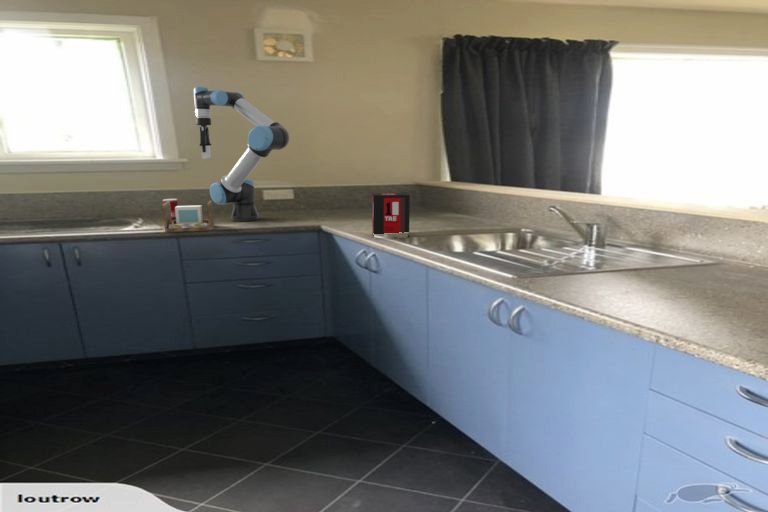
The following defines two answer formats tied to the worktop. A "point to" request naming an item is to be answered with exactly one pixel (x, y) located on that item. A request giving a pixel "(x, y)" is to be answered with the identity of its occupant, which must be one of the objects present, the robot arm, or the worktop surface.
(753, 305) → the worktop surface
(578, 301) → the worktop surface
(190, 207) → the product carton
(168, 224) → the facing shelf
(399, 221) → the cleaning product box
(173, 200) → the canned food
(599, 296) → the worktop surface
